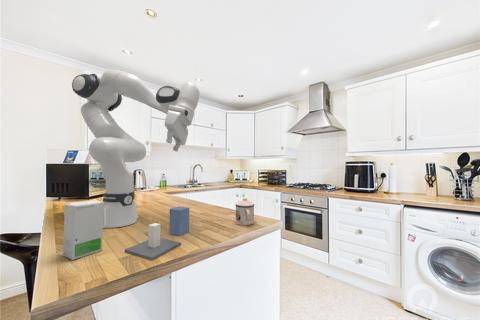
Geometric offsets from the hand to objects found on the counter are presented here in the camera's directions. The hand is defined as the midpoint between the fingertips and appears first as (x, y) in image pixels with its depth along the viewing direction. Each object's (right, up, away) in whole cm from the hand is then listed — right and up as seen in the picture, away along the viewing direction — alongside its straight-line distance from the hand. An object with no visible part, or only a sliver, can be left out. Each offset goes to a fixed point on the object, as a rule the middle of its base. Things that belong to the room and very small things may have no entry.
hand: (171, 146), depth 81 cm
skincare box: (-21, -34, -19) cm, 45 cm away
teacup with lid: (+30, -35, +12) cm, 48 cm away
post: (0, -34, -16) cm, 38 cm away
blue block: (+3, -35, -1) cm, 35 cm away
